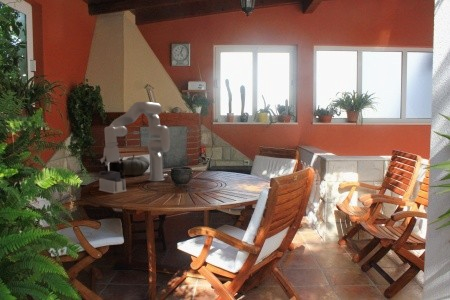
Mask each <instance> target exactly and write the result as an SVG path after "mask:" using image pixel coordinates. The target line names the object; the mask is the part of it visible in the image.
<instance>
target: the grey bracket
mask: <svg viewBox="0 0 450 300" xmlns="http://www.w3.org/2000/svg"><path fill="white" fill-rule="evenodd" d="M98 173H99V174H98V175H99V176H104V179H106V180H111V181H115V182H120V172H114V171H109V170H108V171H105V170H102V171H99V172H98Z"/></svg>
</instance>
